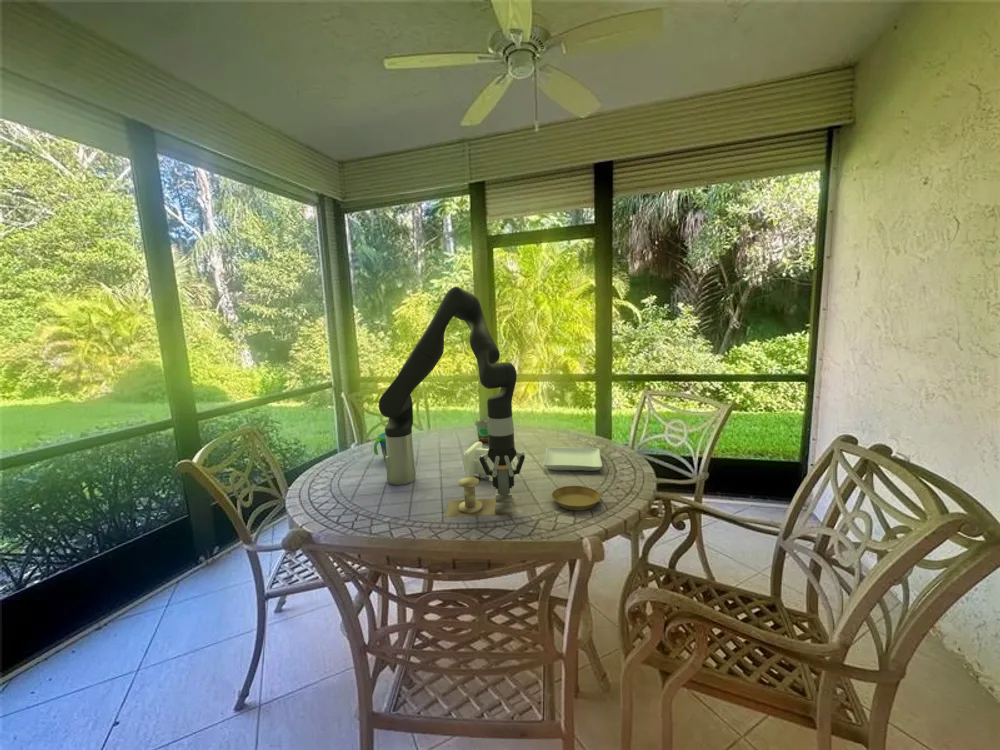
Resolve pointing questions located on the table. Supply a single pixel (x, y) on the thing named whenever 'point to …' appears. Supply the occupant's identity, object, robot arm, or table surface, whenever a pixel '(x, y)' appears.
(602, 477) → the table surface
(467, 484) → the bobbin
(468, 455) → the cable organizer
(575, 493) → the plant saucer
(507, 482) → the spice jar
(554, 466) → the salad plate
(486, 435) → the food container
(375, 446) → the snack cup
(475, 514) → the winding board
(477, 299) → the robot arm
